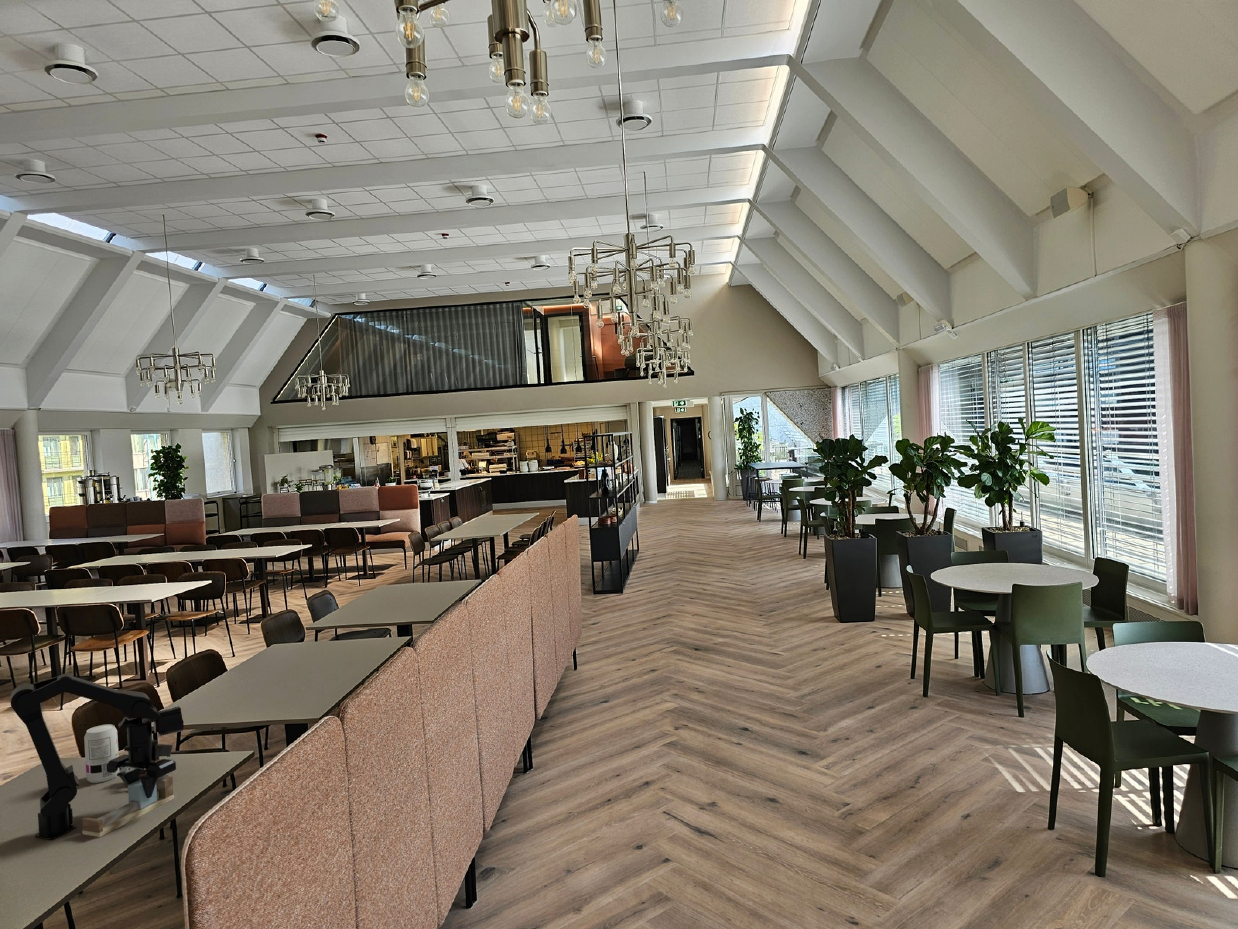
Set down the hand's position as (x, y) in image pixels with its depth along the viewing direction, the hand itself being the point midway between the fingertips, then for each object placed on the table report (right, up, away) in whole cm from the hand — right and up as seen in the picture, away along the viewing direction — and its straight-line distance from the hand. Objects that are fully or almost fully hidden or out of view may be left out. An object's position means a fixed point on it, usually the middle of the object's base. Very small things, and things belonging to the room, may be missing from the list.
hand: (142, 797), depth 210 cm
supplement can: (-25, -4, +22) cm, 34 cm away
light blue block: (0, -2, 0) cm, 2 cm away
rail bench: (-1, -3, -4) cm, 5 cm away
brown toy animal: (-11, -4, +18) cm, 21 cm away
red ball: (+1, +6, +5) cm, 8 cm away
